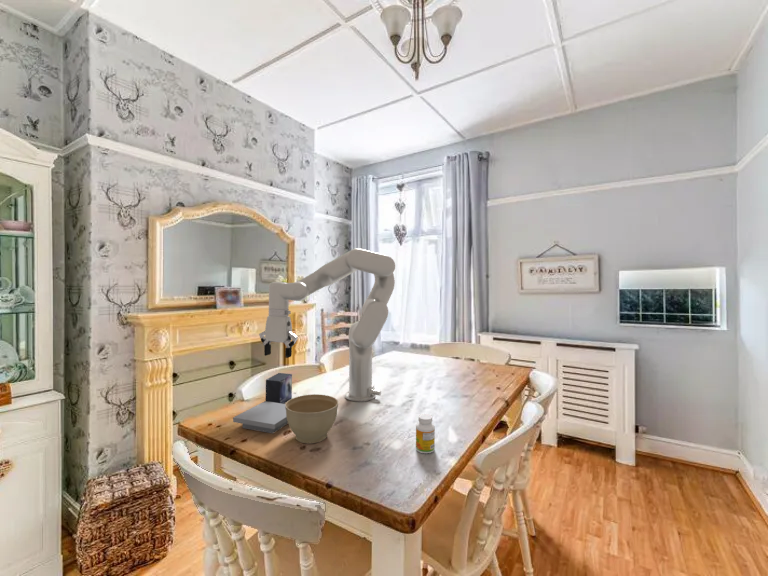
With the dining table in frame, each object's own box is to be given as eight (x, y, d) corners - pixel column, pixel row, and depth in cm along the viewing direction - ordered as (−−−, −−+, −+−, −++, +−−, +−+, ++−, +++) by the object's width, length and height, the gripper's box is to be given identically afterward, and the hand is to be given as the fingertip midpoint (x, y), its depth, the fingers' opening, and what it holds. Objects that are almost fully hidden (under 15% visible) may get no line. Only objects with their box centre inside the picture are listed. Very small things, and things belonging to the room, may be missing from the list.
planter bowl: (313, 455, 96) (313, 417, 96) (274, 440, 105) (273, 405, 105) (348, 433, 110) (348, 399, 110) (311, 422, 119) (311, 390, 118)
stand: (302, 417, 123) (302, 406, 122) (274, 437, 107) (274, 424, 107) (265, 411, 128) (265, 401, 128) (233, 429, 113) (233, 417, 112)
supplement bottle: (414, 445, 103) (414, 413, 102) (432, 444, 103) (432, 412, 103) (417, 454, 97) (417, 420, 97) (436, 453, 98) (436, 420, 97)
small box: (280, 408, 132) (280, 380, 131) (264, 406, 133) (264, 379, 133) (292, 398, 142) (292, 373, 142) (278, 397, 143) (278, 372, 143)
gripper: (302, 313, 137) (301, 356, 138) (266, 311, 143) (265, 352, 143) (291, 315, 130) (291, 360, 131) (254, 312, 136) (253, 355, 136)
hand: (277, 356), depth 137 cm, fingers open, 9 cm apart
